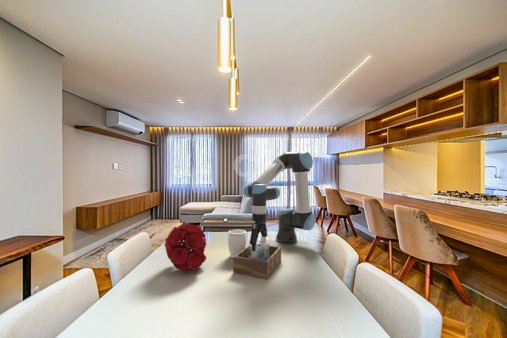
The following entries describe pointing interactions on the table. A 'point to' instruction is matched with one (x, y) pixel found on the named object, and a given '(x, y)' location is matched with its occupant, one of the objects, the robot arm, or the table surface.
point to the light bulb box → (260, 251)
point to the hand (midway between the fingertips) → (259, 252)
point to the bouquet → (186, 246)
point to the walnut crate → (256, 263)
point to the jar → (236, 241)
